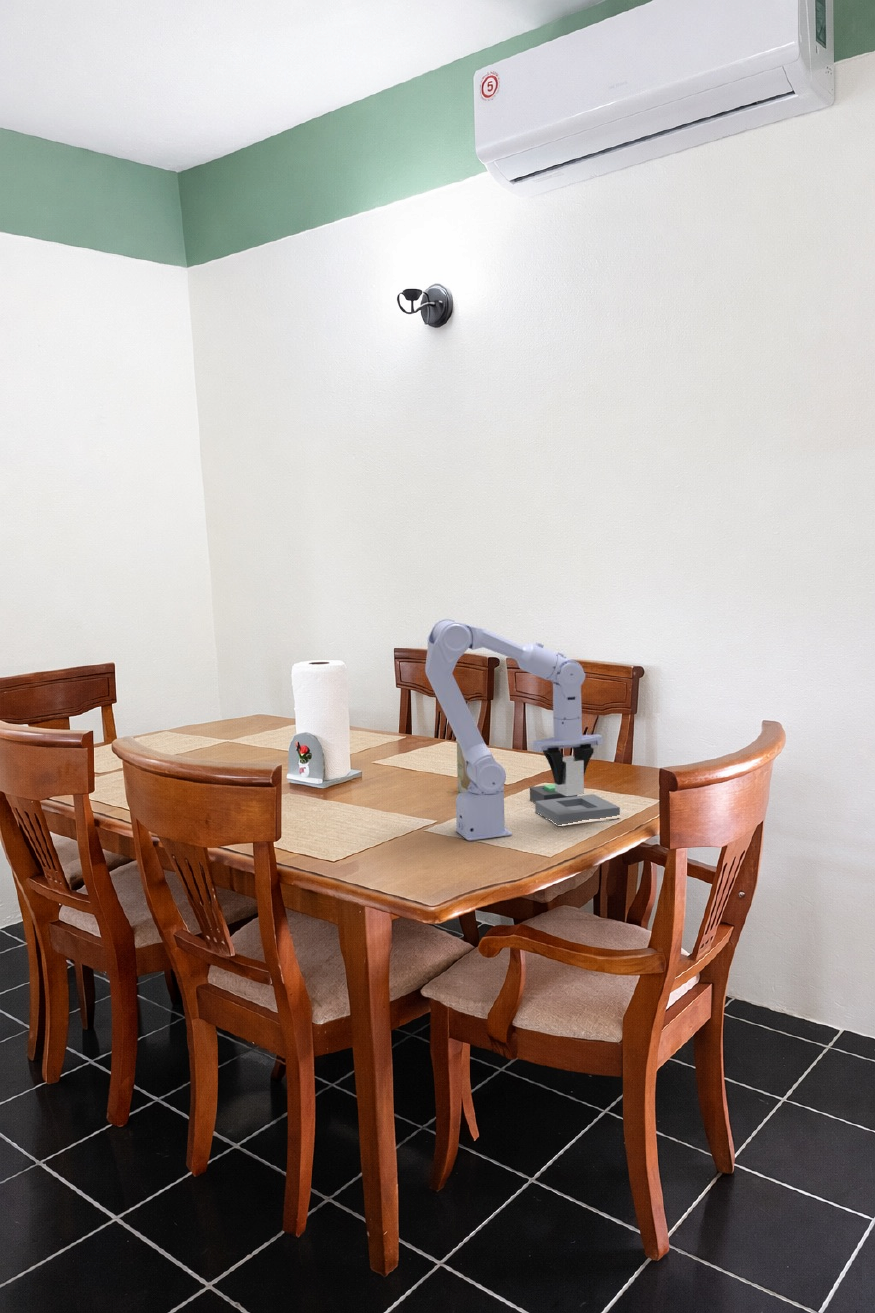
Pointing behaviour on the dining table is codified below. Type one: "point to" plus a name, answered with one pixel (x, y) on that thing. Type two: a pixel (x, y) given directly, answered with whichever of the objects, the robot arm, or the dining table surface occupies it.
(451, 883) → the dining table surface
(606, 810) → the pocket plate
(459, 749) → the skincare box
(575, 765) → the block
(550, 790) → the button
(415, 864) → the dining table surface
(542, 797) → the button housing
